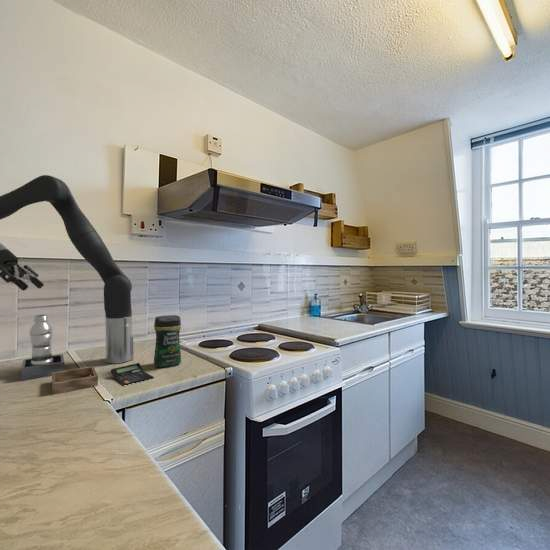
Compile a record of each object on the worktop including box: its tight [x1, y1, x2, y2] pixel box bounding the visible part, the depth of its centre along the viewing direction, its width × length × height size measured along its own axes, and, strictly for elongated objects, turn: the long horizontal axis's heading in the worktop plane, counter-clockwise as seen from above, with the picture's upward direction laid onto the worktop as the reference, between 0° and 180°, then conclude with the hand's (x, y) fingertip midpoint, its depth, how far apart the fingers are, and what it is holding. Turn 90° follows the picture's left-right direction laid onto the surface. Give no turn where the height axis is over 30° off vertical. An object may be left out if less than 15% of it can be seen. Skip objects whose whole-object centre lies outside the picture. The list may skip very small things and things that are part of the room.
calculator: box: [110, 362, 154, 386], centre depth 106 cm, size 9×12×3 cm
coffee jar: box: [153, 314, 182, 368], centre depth 119 cm, size 10×8×19 cm
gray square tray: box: [20, 354, 66, 382], centre depth 110 cm, size 12×12×4 cm
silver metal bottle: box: [29, 314, 54, 367], centre depth 109 cm, size 6×7×20 cm
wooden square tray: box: [51, 366, 99, 395], centre depth 100 cm, size 12×12×3 cm
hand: (34, 287), depth 113 cm, fingers open, 8 cm apart
